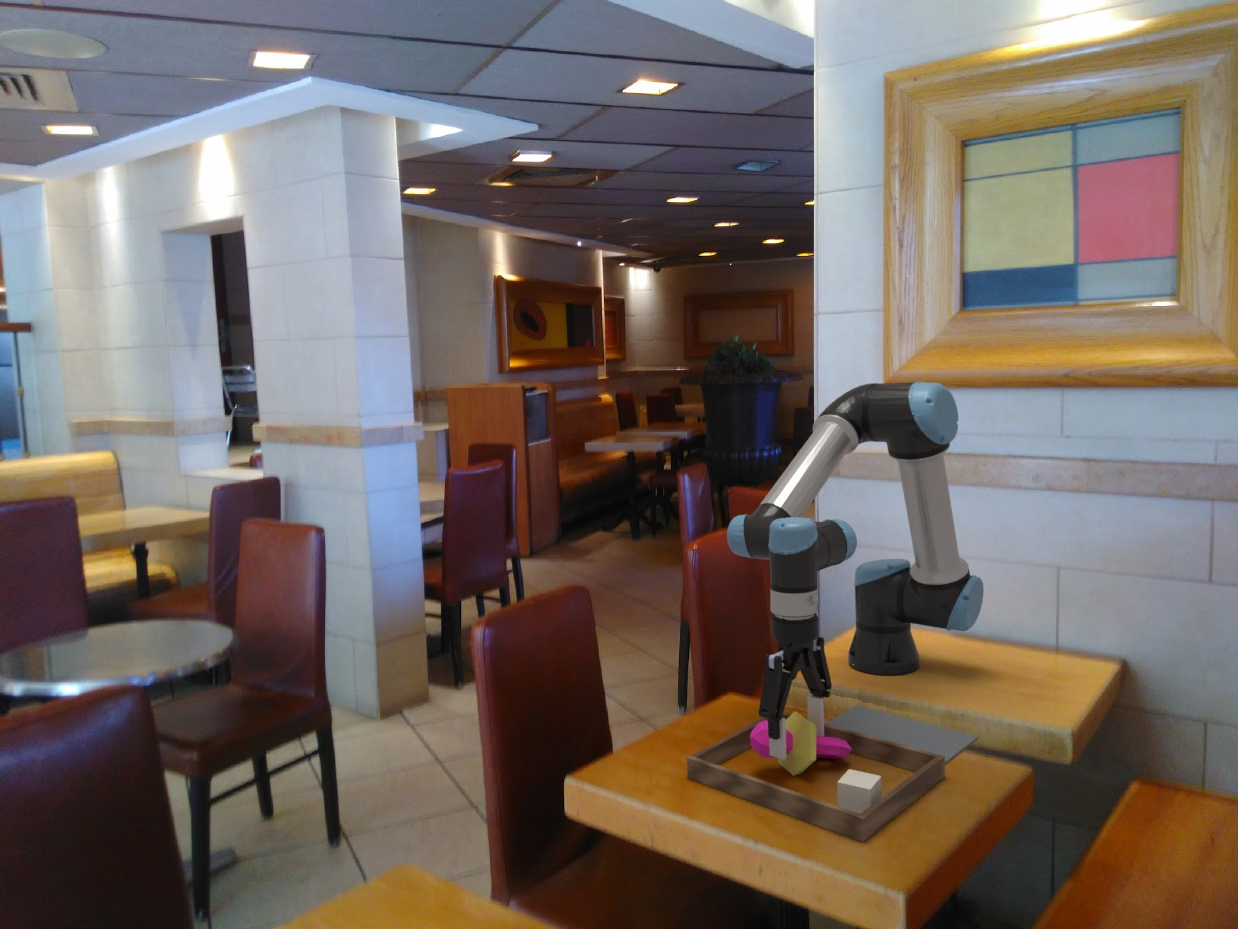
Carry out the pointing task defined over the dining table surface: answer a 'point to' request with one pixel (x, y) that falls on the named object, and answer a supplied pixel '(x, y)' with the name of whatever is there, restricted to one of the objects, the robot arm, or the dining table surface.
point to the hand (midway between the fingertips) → (797, 745)
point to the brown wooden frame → (813, 810)
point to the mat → (904, 731)
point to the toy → (799, 744)
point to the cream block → (858, 790)
